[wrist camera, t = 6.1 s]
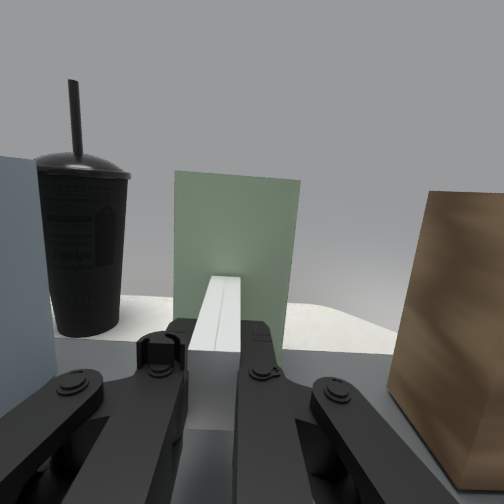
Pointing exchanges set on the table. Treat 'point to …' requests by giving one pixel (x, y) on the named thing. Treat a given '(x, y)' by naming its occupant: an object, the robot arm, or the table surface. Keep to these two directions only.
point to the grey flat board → (221, 441)
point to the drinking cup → (82, 233)
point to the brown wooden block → (456, 338)
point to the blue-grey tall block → (23, 287)
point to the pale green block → (235, 243)
